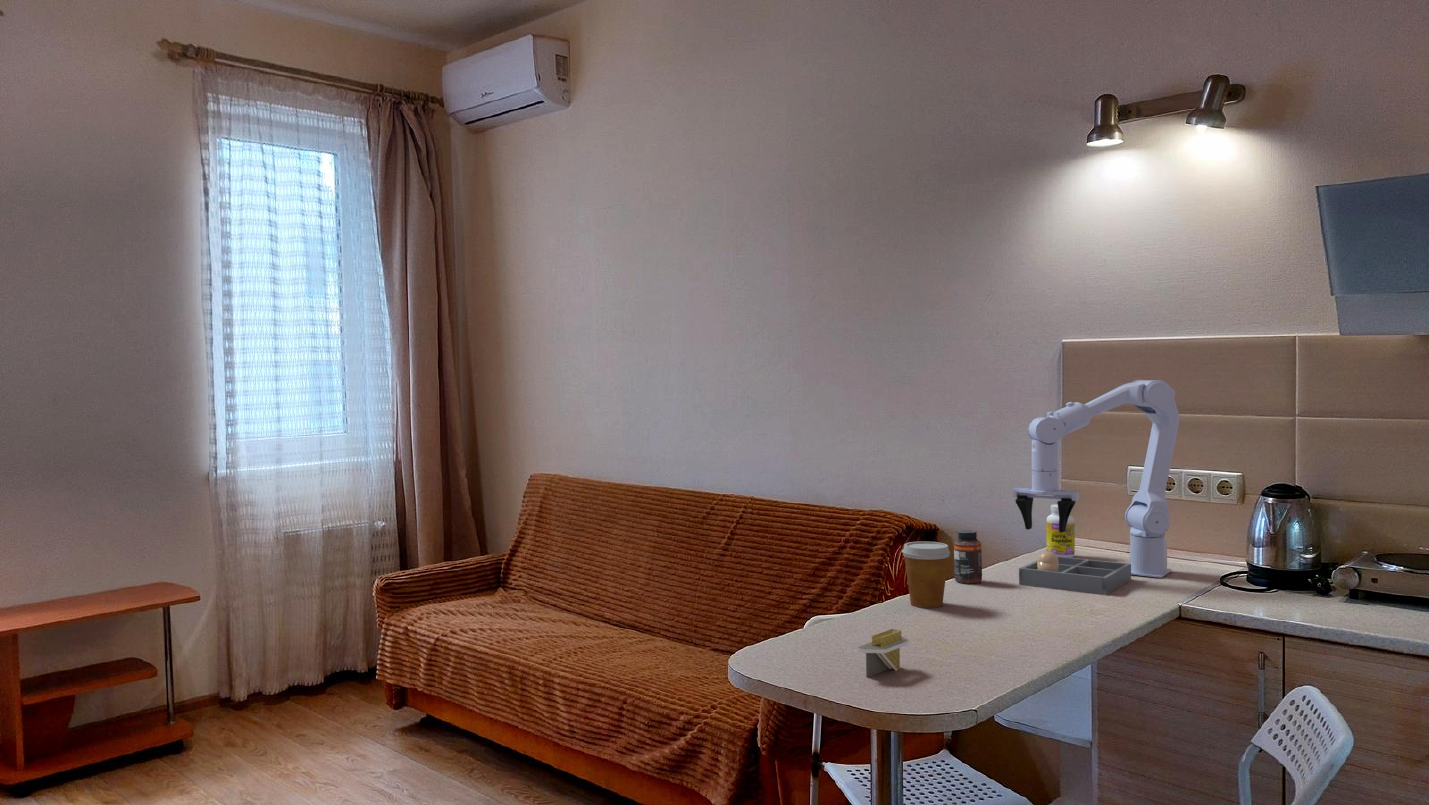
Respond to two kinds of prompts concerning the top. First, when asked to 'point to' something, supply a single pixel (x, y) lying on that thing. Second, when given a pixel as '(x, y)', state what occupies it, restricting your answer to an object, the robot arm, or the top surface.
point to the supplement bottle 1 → (968, 557)
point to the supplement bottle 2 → (1060, 535)
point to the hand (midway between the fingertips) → (1045, 530)
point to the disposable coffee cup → (926, 572)
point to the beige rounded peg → (1048, 562)
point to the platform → (883, 651)
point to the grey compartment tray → (1078, 575)
